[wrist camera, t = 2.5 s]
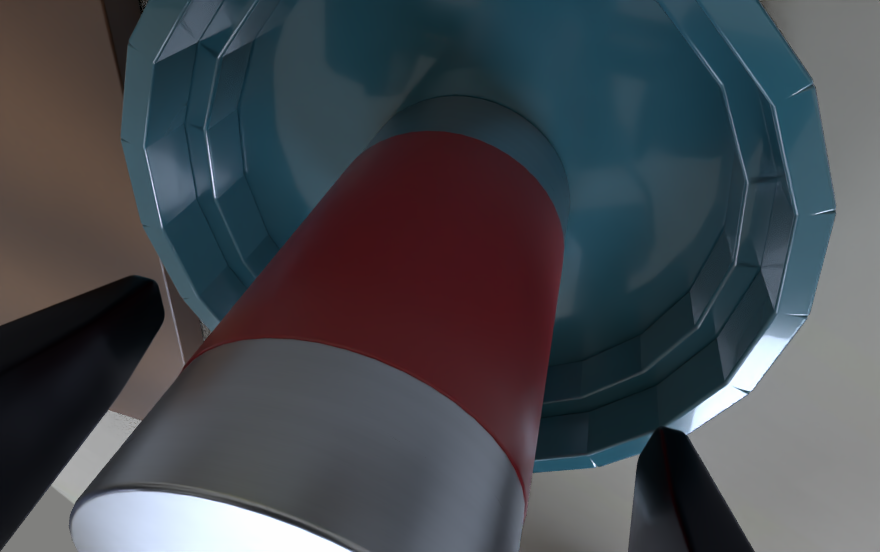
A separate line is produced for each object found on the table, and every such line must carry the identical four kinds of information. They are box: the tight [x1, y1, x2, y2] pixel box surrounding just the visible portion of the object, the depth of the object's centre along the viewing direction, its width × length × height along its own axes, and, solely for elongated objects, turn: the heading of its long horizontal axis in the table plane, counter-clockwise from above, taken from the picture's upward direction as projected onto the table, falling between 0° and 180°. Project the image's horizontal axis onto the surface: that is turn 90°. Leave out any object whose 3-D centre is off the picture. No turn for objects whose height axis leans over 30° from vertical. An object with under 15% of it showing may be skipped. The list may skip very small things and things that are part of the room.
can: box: [69, 96, 570, 552], centre depth 10 cm, size 5×5×10 cm
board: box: [0, 0, 204, 420], centre depth 19 cm, size 17×9×1 cm, turn 172°
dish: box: [120, 0, 836, 473], centre depth 13 cm, size 14×14×3 cm
